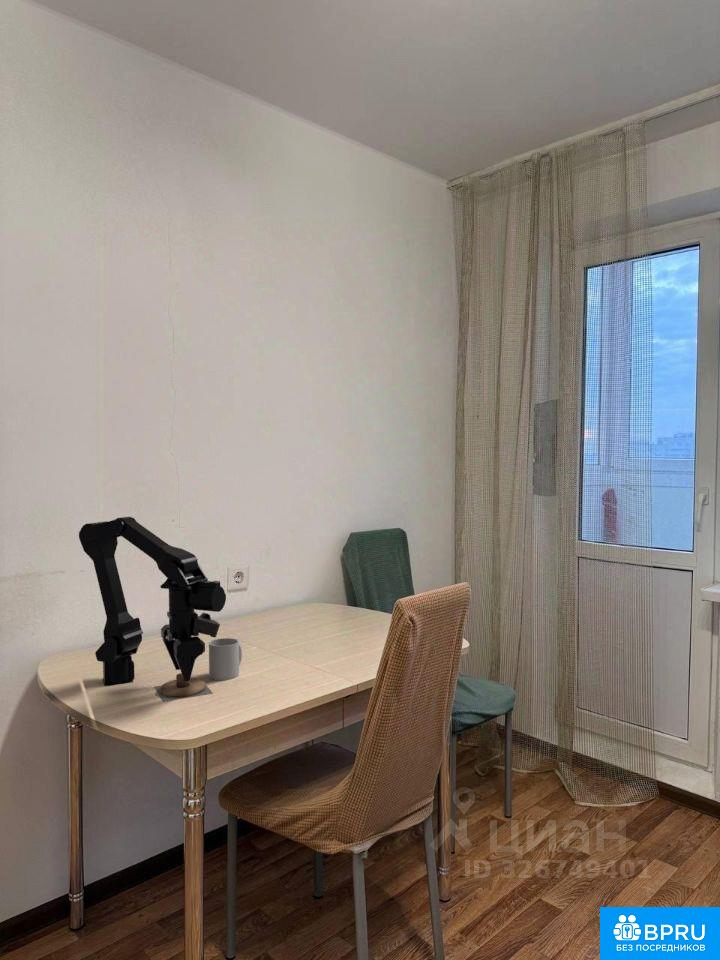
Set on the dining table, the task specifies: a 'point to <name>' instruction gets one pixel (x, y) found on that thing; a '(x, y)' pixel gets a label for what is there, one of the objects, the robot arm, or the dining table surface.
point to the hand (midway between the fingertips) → (182, 675)
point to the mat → (165, 698)
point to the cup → (224, 658)
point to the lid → (182, 687)
